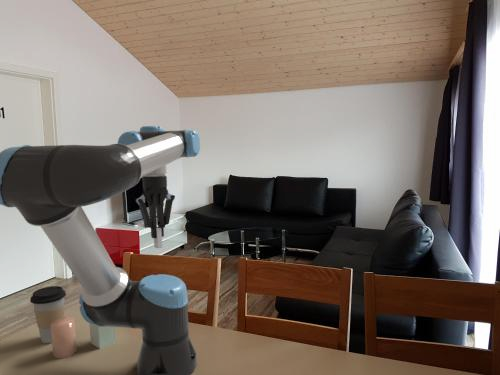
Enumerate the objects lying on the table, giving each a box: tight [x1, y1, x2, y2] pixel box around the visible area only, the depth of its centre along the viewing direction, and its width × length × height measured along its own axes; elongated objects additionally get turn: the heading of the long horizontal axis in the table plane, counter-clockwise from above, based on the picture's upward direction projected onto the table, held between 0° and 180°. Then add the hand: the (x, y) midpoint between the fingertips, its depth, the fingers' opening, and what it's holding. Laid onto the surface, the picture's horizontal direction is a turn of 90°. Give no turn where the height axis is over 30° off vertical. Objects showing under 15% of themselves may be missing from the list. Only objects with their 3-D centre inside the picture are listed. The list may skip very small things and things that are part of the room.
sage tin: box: [89, 323, 117, 350], centre depth 110 cm, size 5×5×8 cm
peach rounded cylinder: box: [51, 316, 78, 360], centre depth 105 cm, size 6×6×9 cm
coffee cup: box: [29, 285, 67, 344], centre depth 112 cm, size 9×9×15 cm
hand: (158, 247), depth 122 cm, fingers closed
